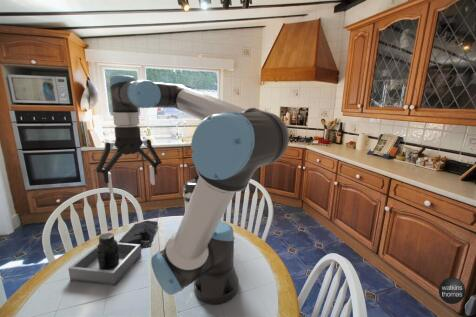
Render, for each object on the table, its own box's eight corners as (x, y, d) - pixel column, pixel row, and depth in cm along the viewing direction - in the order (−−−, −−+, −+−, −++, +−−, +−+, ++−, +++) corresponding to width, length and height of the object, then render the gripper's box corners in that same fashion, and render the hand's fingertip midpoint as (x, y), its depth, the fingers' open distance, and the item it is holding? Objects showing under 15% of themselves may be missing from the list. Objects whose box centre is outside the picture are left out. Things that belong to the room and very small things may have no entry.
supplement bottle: (121, 265, 89) (118, 236, 87) (101, 273, 85) (97, 243, 82) (116, 256, 94) (113, 229, 92) (97, 263, 90) (93, 235, 87)
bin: (141, 255, 97) (140, 244, 96) (115, 285, 80) (113, 273, 79) (103, 251, 99) (102, 241, 98) (70, 280, 83) (68, 268, 81)
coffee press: (214, 244, 105) (214, 180, 98) (179, 244, 105) (176, 180, 99) (218, 225, 122) (218, 169, 115) (188, 225, 122) (185, 169, 115)
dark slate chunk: (163, 225, 123) (162, 216, 122) (148, 250, 101) (147, 240, 100) (133, 225, 122) (132, 216, 121) (112, 250, 101) (111, 240, 100)
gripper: (160, 123, 87) (164, 178, 91) (80, 126, 72) (89, 192, 76) (168, 125, 81) (171, 183, 86) (82, 128, 66) (92, 199, 71)
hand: (132, 187), depth 81 cm, fingers open, 13 cm apart
